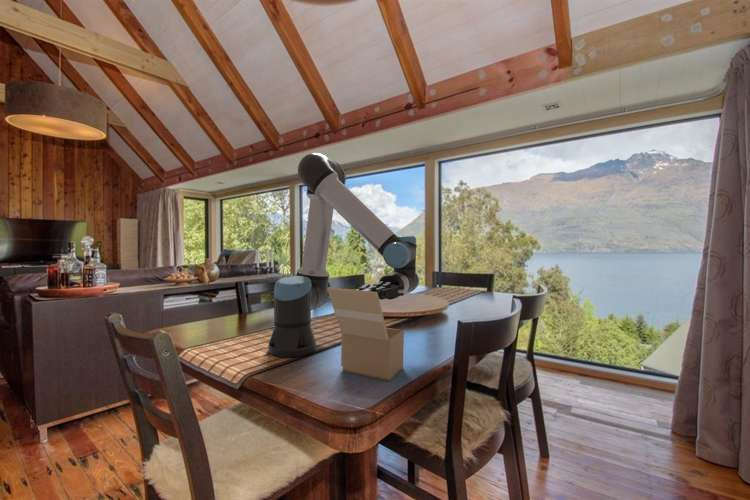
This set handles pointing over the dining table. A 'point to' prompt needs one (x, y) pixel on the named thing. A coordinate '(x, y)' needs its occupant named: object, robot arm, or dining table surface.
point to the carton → (373, 355)
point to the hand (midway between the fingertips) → (357, 298)
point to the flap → (358, 312)
